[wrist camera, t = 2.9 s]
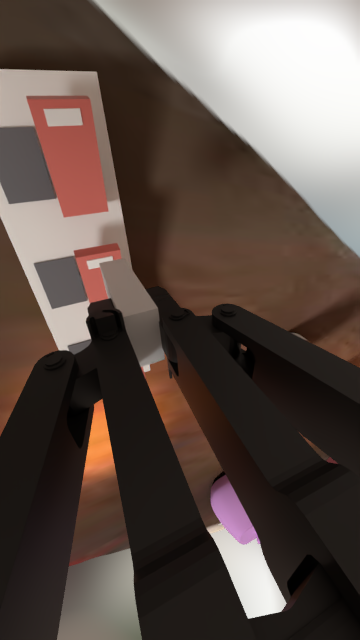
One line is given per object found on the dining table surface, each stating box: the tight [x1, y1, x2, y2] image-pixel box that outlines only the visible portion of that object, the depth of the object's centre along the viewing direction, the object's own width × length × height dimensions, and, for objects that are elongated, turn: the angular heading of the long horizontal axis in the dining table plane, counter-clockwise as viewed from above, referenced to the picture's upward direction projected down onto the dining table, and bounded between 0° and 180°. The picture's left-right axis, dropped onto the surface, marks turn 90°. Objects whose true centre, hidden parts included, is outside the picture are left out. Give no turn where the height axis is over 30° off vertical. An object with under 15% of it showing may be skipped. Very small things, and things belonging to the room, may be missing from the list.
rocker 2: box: [73, 243, 121, 303], centre depth 22 cm, size 3×7×1 cm, turn 4°
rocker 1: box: [26, 96, 109, 217], centre depth 17 cm, size 3×7×1 cm, turn 4°
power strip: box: [0, 69, 150, 372], centre depth 26 cm, size 9×35×5 cm, turn 4°
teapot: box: [211, 474, 260, 544], centre depth 68 cm, size 23×21×15 cm
